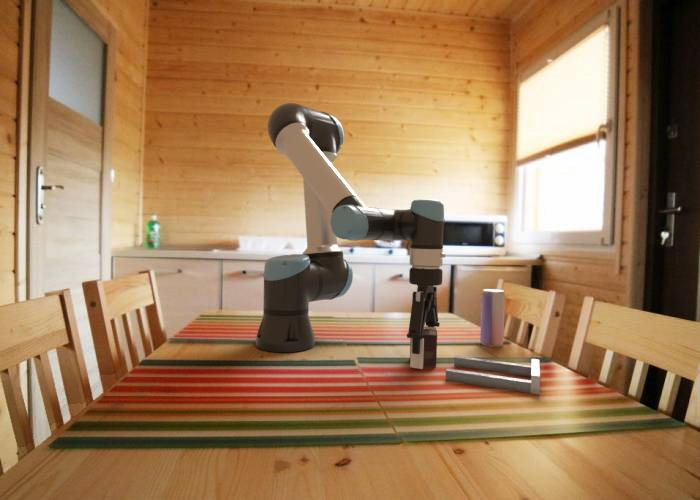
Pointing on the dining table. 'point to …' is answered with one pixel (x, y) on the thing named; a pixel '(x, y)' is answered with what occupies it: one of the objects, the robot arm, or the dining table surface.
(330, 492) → the dining table surface
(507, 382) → the channel
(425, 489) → the dining table surface
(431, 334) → the box
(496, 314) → the beverage can
